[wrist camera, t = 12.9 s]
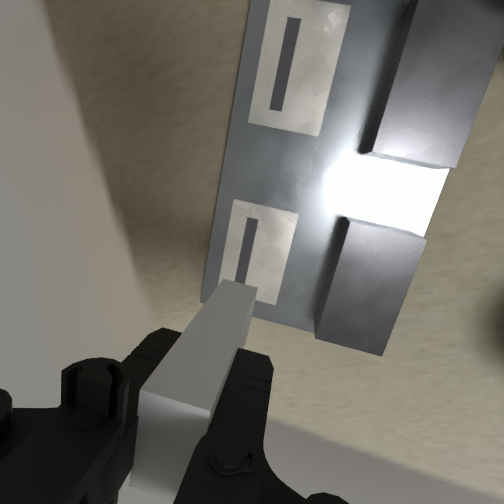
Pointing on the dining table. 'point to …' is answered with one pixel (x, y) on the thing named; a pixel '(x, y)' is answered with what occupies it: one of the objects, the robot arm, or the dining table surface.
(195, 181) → the dining table surface
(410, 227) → the panel
